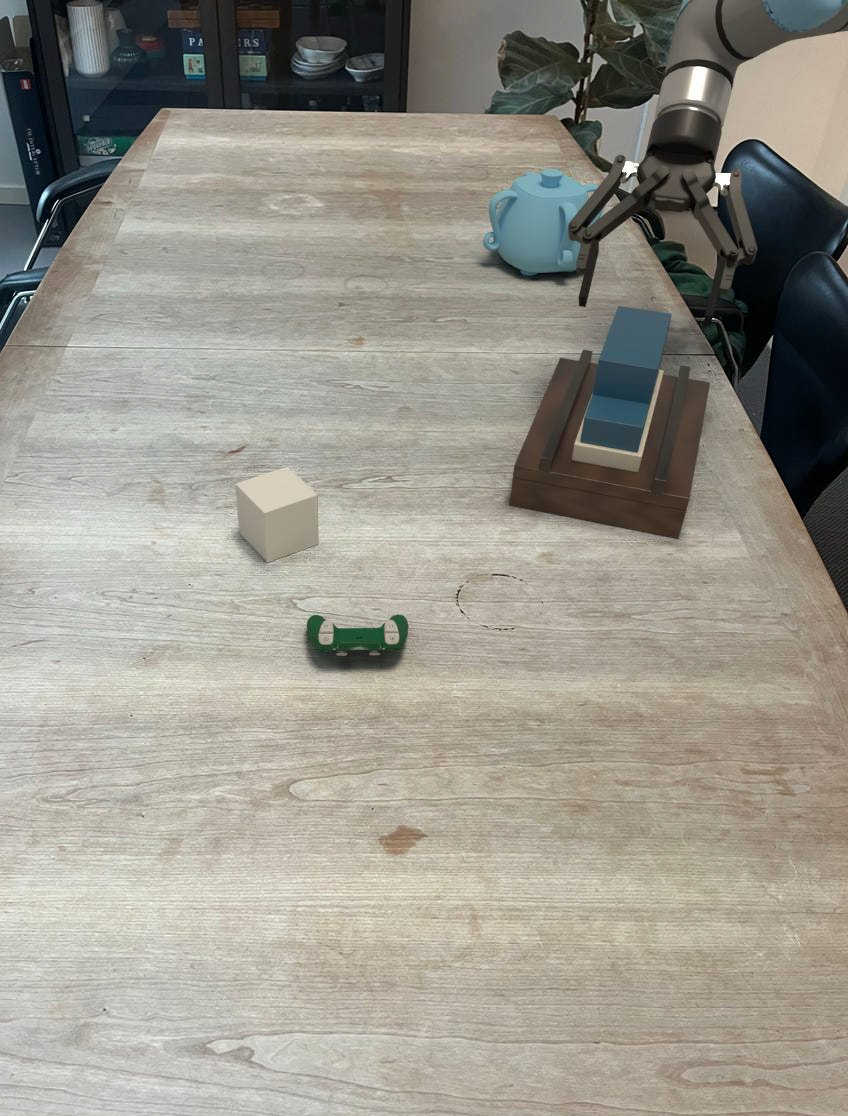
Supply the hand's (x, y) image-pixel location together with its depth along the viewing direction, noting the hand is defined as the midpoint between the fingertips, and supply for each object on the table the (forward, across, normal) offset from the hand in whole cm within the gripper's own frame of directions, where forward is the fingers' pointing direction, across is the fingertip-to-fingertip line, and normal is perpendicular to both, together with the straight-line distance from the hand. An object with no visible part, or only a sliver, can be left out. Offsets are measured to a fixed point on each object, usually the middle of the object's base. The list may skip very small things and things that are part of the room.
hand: (644, 311), depth 113 cm
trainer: (+12, 0, -3) cm, 12 cm away
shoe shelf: (+15, 0, -6) cm, 16 cm away
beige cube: (+34, +30, +13) cm, 47 cm away
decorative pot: (-23, +19, -45) cm, 54 cm away
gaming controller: (+44, +17, +22) cm, 52 cm away
